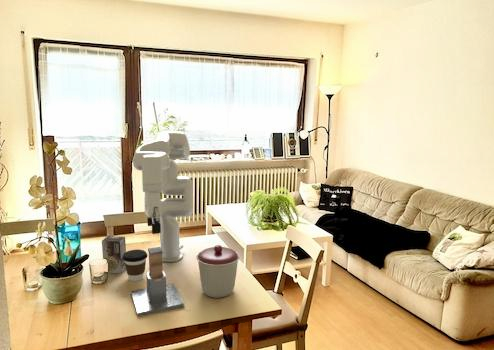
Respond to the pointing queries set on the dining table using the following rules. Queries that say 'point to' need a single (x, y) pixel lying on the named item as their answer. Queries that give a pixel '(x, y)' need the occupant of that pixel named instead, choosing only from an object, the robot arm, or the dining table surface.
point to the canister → (218, 270)
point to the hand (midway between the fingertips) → (154, 229)
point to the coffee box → (114, 253)
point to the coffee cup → (135, 264)
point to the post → (155, 262)
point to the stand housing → (156, 296)
